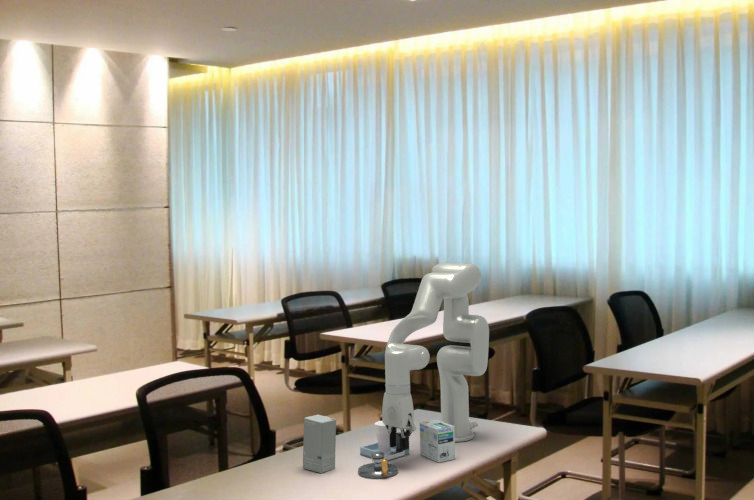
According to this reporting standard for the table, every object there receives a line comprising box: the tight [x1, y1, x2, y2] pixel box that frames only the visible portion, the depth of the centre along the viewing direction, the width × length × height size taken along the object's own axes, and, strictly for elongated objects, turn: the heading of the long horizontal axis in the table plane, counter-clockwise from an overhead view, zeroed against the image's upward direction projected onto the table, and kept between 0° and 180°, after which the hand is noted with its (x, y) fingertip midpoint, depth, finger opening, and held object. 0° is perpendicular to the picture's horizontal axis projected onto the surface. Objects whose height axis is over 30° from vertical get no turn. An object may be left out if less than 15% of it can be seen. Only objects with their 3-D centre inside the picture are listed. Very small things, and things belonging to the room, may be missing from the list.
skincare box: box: [302, 414, 337, 474], centre depth 247 cm, size 8×7×16 cm
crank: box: [370, 431, 405, 463], centre depth 245 cm, size 12×4×7 cm, turn 131°
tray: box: [359, 441, 410, 462], centre depth 260 cm, size 11×11×2 cm
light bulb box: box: [419, 419, 456, 463], centre depth 255 cm, size 11×7×11 cm, turn 31°
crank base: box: [357, 459, 399, 480], centre depth 242 cm, size 12×12×6 cm
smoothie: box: [374, 420, 391, 453], centre depth 259 cm, size 6×6×14 cm
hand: (399, 447), depth 248 cm, fingers open, 4 cm apart
